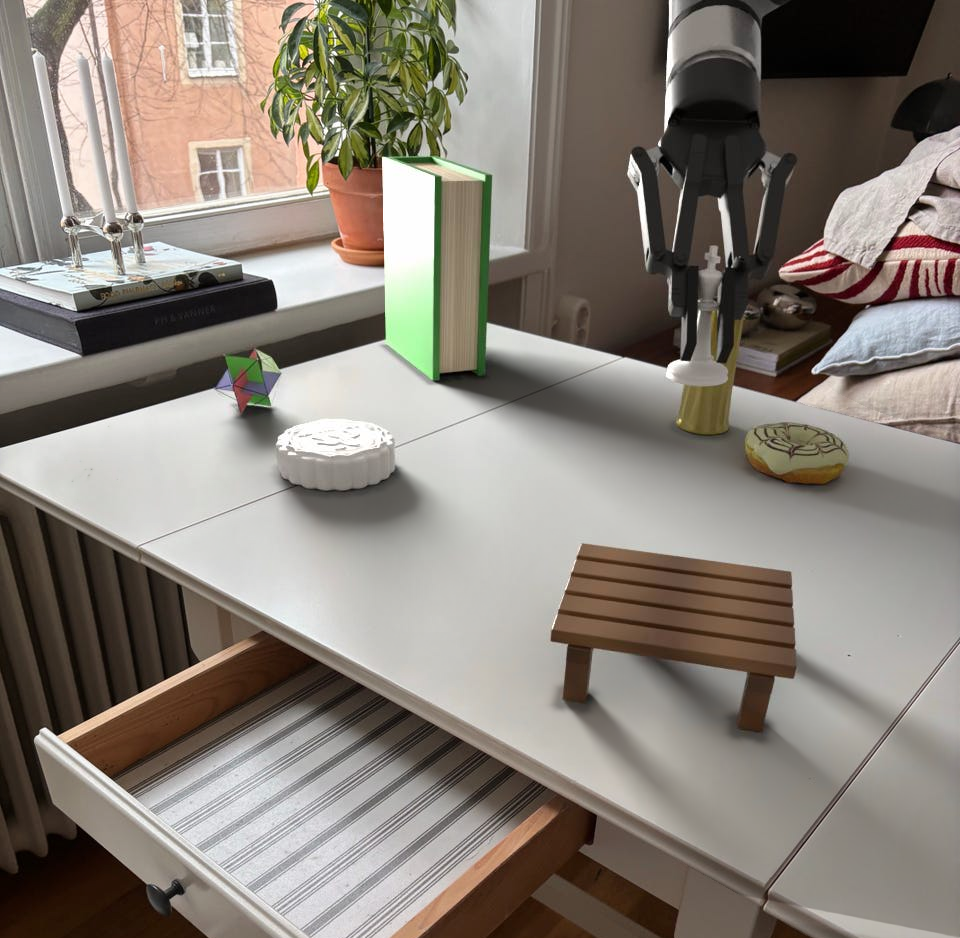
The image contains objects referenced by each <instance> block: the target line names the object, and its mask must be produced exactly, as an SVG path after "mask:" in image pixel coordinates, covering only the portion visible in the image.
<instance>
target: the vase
mask: <svg viewBox="0 0 960 938" xmlns="http://www.w3.org/2000/svg"><path fill="white" fill-rule="evenodd" d="M713 299H714V301H715V302H717V303H718V295H715V296H714V298H713ZM745 313H746V312H745ZM745 313H744V315H743V317H742V319H741V320H734V346H733V349H732V351H731V353H730V356H729V358H728V360H727V362H726V363H720V364H722V365H724V366H725V367H726V368H727V369H728V374H727V376H728V380H727V381H726V382H725V383H723V384H720V385H715V386H691V385H685V384H682V385H683V386H682V391H681V400H680V404H679V407H678V413H677V417H676V419H675V424H676V425H677V427H678V428H680V429H681V430H683V431H685V432H688V433H691V434H695V435H703V436H714V435H721V434H724V433H725V432H727V431H728V430H729V427H730V412H731V403H732V394H733V389H734V381H735V376H736V370H737V363H738V356H739V351H740V344H741V338H742V332H743V326H744V320H745ZM698 315H699V310H698V313H697V319H698ZM716 354H717V310H714V311H711V355H712V356H714V359H713V361H716Z"/></svg>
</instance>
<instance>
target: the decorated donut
mask: <svg viewBox="0 0 960 938" xmlns="http://www.w3.org/2000/svg"><path fill="white" fill-rule="evenodd" d="M744 445H745V454H746V457H747V459H748V462H749V464H751V466H752V467H753V468H755V469H756V471H758V472H760V473H764V474H765V475H767V476H772V477H774V478H777V479H778V480H784V482H786V483H796V484H797V483H799V484H804V485H809V484H816V485H818V484H819V485H824V484H827V483H828V482H830V481H833V480H835V479H837V478H839V477H840V476H841V475H842V472H843V471H844V469H845V468H846V467H847V466H848V465H849V464H848V463H849V459H850V458H849V457H850V453H849V449H848V447H847V445H846V443H844V441H843V439H841V438H840V437H838V436H836V435H835V434H834V433H832V432H829V431H828V430H825V429H824V428H820V427H817V426H812V425H810V424H806V423H798V422H792V421H791V422H790V421H781V422H780V421H779V422H775V423H765V424H761V425H756V426H754V427H752V428H751V429H750V430H749V431H748V432H747V433H746V437H745V439H744Z"/></svg>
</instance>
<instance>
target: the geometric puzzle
mask: <svg viewBox="0 0 960 938" xmlns="http://www.w3.org/2000/svg"><path fill="white" fill-rule="evenodd" d="M246 351H247V349H246V350H244V352H246ZM241 352H243V350H241V351H240V353H241ZM251 352H252V353H251ZM237 353H238V351H236V352H235V354H237ZM250 353H251V354H250ZM232 354H234V352H233V353H231V355H230V354H225V353H224V354H223V359H222V362H221V363H223V362H224V361H225V365H226V370H225V372H224V373H223V375H222V376H221V378H220V380H219V381H218V379H219V378H217V379H216V383H215V384H216V385H215V386H214V388H213V390H214V391H216V392H217V393H218V394H219V395H220V396H222V395H224V396H227V397H229V398H230V399H232V400H234V401H236V402H237V405H238V409H239V413H240V415H243V414H246V413H248V410H249V413H250V412H252V410H250V409H251V408H253V407H255V406H256V405H259V406H266V407H264V409H265V408H267V407H268V408H269V407H270V408H271V407H273V405H272V403H273V401H274V398H275V396H276V392H277V391H275V392H274V395H273V399H272V402H271V399H270V395H271V392H272V391H273V389H274V387H275V385H276V384H277V387H278V386H279V382H280V379H281V376H282V374H283V372H281V369H280V368H279V366H278V365H277V363H276V361H275V360H274V358H273V357H272V356H270V355H268V354H267V353H264V352H263V351H261V350H259V349H258V348H256V347H254V348H251V349H249V352H248V353H246V354H245V355H243V356H235V355H232ZM248 354H250V356H249V357H246V356H247V355H248ZM260 362H261V363H260ZM222 365H223V364H221V365H220V370H221V369H222ZM220 372H221V371H218V375H217V377H219V375H220ZM277 381H278V383H277ZM217 382H218V383H217ZM223 391H226V392H233V393H234V397H232V396H230V395H228V394H226V393H224V392H223ZM248 404H252V406H250V407H249V408H247V409H246V407H247V405H248ZM231 406H233V404H231ZM233 408H235V406H233ZM235 409H236V408H235ZM262 409H263V407H261V408H260V410H262ZM258 410H259V409H256V411H258Z"/></svg>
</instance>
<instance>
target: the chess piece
mask: <svg viewBox="0 0 960 938" xmlns="http://www.w3.org/2000/svg"><path fill="white" fill-rule="evenodd" d="M718 249H719V246H718V245H709V251H708V252H705V253H704V257H703V258H704V260H706V261H707V267H706V268H705V269H700V270H699V274H698V293H699V296H700V298H698V310H699V315H698V319H697V344H696V347H695V350H694V352H693V355H692V358H691V361H690V362H689V361H680V360H681V358H680V359H676V360H673V361H672V362H670V363H669V364H668V365H667V371H666V373H665V376H666V377H667V378H668V379H669V380H670V381H672V382H674V383H677V384H681V385H684V384H685V385H691V386H715V385H720V384H723V383H725V382H726V381H727V380H728V376H727V374H728V369H727V368H726V367H725V366H724V365H722V364H720V363H716V361H713V359H714V356H712V355H711V311H714V310H718V309H719V303H717V302H715V301H714V299H713V298H714V296H716V294H717V293H718V287H719V285H720V283H721V281H722V279H723V271H720V270H717V268H716V264H720V263H721V256H719V255H718Z"/></svg>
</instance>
